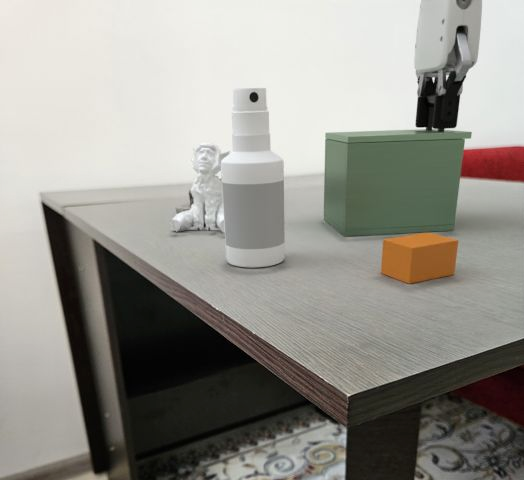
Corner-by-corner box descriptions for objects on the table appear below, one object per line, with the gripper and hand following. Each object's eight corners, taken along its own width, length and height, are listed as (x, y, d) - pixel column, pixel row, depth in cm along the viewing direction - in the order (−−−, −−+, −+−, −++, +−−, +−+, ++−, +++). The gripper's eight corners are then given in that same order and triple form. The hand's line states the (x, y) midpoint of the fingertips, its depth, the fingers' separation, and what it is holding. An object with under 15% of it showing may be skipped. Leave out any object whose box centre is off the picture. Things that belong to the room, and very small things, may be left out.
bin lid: (431, 134, 79) (435, 93, 77) (471, 138, 68) (477, 90, 65) (325, 138, 77) (326, 96, 75) (347, 143, 66) (349, 93, 64)
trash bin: (418, 214, 84) (426, 135, 79) (453, 230, 73) (465, 139, 68) (323, 219, 82) (325, 138, 77) (344, 236, 71) (347, 143, 66)
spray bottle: (233, 271, 57) (224, 87, 50) (220, 256, 63) (210, 90, 56) (292, 264, 59) (291, 86, 51) (274, 251, 65) (271, 89, 57)
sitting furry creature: (168, 232, 77) (159, 144, 72) (188, 220, 84) (182, 141, 79) (230, 233, 75) (225, 143, 70) (245, 221, 82) (242, 139, 77)
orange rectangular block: (424, 264, 57) (427, 232, 56) (454, 274, 54) (458, 239, 52) (380, 273, 55) (383, 239, 53) (409, 284, 51) (412, 247, 50)
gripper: (517, -50, 58) (492, 128, 65) (449, -16, 73) (435, 125, 81) (452, -50, 57) (434, 130, 65) (397, -16, 72) (388, 127, 80)
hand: (435, 126), depth 73 cm, fingers closed on bin lid, 5 cm apart
